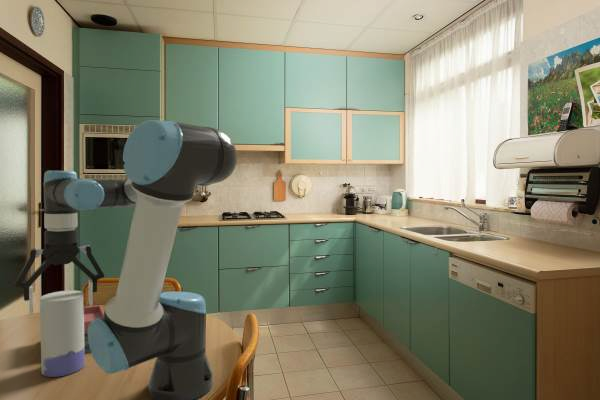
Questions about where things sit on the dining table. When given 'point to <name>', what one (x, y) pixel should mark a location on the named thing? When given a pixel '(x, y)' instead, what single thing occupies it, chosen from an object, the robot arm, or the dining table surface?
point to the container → (62, 333)
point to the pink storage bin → (92, 315)
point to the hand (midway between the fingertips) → (62, 308)
